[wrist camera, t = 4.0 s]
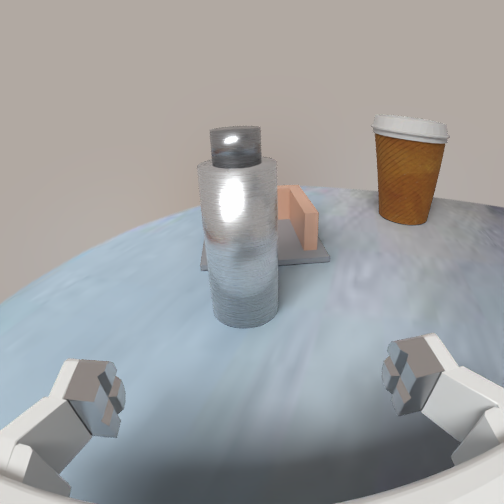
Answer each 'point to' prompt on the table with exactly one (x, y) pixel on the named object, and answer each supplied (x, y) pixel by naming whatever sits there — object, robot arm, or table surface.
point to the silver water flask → (240, 227)
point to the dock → (294, 229)
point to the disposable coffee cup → (407, 166)
